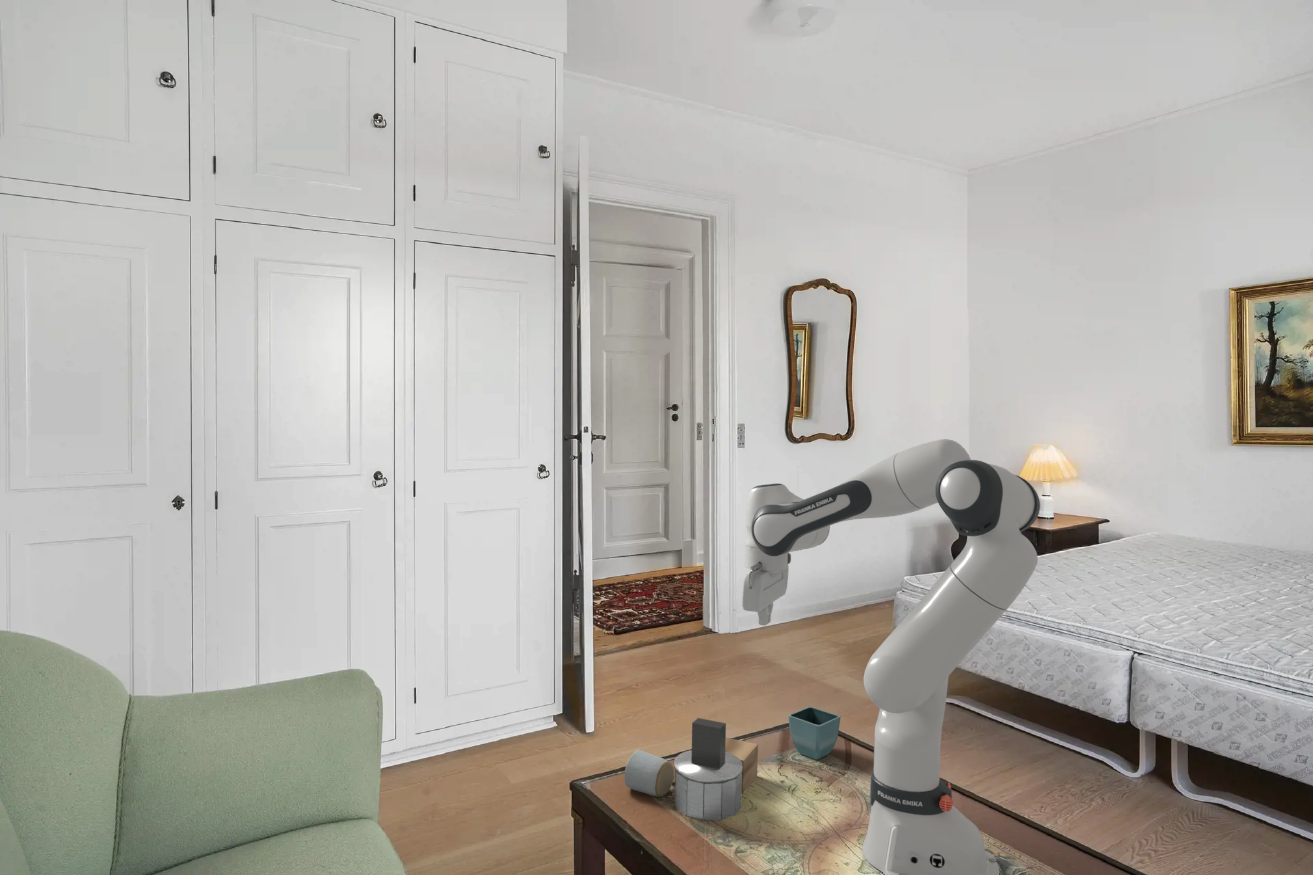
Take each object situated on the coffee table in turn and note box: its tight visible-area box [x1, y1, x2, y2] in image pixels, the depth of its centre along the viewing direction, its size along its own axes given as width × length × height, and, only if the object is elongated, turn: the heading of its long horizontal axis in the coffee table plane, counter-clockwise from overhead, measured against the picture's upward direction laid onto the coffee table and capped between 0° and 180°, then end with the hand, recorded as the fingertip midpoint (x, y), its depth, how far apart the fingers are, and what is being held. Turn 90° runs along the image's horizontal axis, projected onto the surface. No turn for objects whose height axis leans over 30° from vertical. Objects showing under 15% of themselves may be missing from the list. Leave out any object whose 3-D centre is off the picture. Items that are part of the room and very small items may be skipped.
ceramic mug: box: [623, 749, 675, 798], centre depth 161 cm, size 11×8×8 cm
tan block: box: [725, 737, 759, 795], centre depth 166 cm, size 10×9×7 cm
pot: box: [673, 769, 743, 821], centre depth 156 cm, size 13×13×7 cm
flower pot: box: [788, 706, 841, 760], centre depth 180 cm, size 9×9×9 cm
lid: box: [673, 717, 743, 783], centre depth 155 cm, size 14×14×9 cm
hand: (764, 623), depth 167 cm, fingers closed
